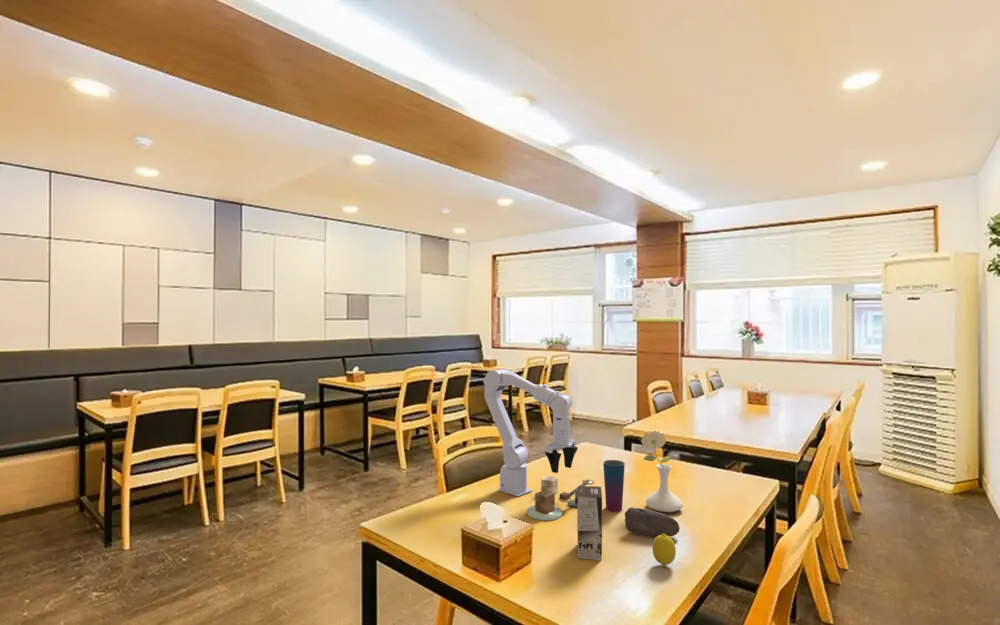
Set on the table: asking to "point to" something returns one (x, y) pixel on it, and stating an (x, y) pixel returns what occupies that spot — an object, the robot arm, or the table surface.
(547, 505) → the walnut block
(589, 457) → the table surface
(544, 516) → the dish
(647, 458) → the flower in vase
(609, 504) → the cup
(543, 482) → the maple block
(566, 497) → the balance
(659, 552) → the lemon
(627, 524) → the perforated stone tool
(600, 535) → the coffee box
